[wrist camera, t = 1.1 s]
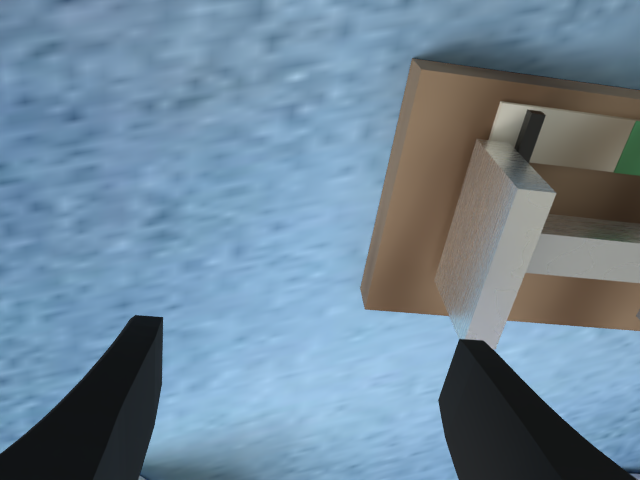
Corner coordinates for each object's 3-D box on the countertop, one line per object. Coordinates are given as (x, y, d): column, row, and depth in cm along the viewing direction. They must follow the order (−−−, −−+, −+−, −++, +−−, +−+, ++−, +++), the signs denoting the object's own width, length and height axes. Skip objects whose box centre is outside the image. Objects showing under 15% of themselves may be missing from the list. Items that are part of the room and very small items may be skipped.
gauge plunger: (740, 136, 21) (831, 183, 18) (652, 299, 25) (714, 364, 21) (487, 102, 20) (532, 147, 16) (434, 280, 23) (462, 346, 20)
